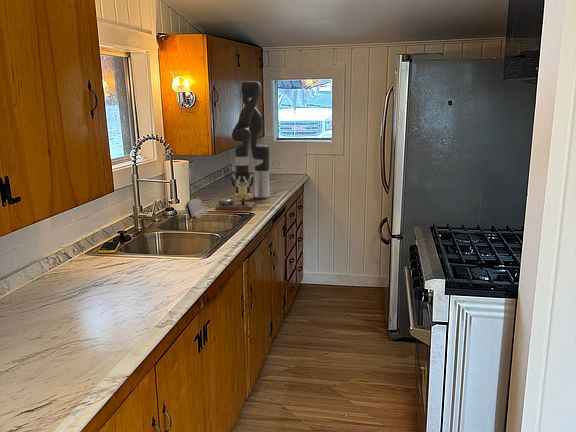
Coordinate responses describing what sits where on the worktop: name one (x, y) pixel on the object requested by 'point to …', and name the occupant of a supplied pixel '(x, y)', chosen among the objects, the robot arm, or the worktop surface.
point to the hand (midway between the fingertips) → (243, 193)
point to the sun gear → (226, 202)
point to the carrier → (237, 206)
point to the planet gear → (242, 193)
